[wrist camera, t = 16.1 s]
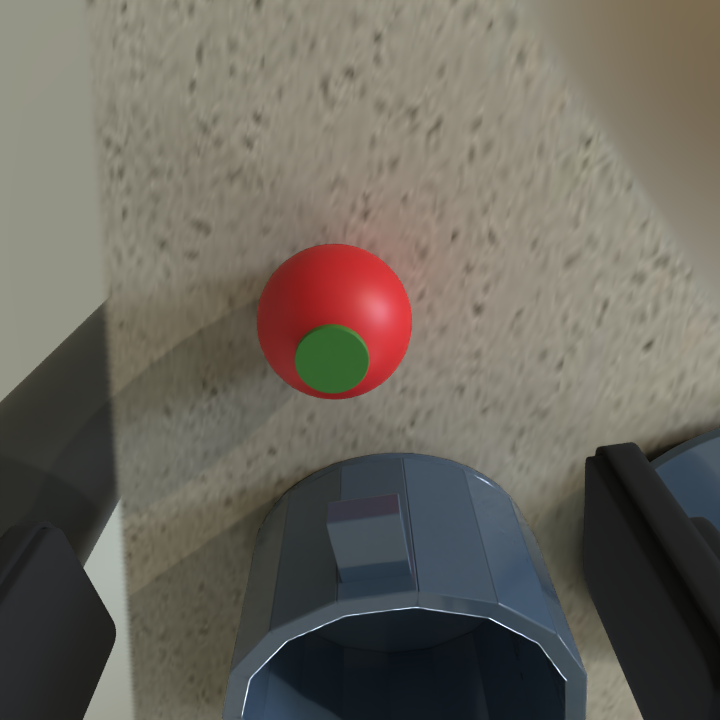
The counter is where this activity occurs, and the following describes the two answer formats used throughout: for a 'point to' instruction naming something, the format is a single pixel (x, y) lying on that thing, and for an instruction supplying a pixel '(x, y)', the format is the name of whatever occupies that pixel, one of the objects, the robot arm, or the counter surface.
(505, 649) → the pot
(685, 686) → the robot arm
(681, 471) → the lid
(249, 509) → the counter surface
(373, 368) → the red tomato
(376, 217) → the counter surface
